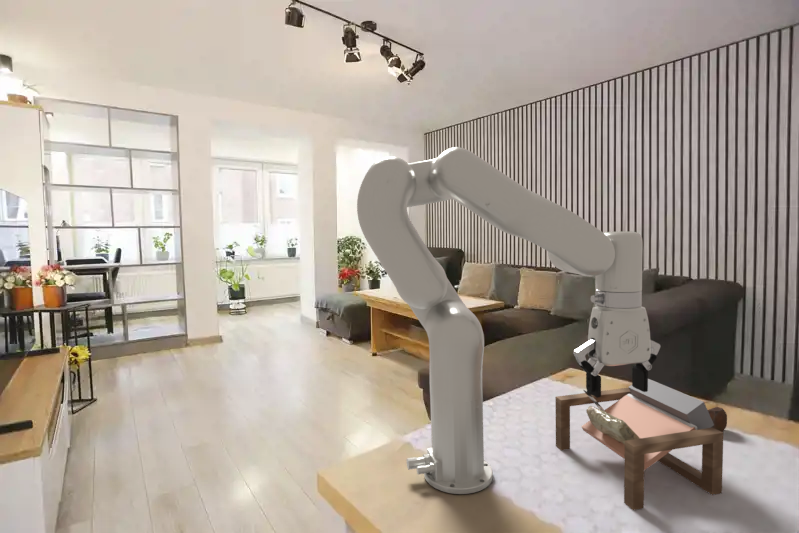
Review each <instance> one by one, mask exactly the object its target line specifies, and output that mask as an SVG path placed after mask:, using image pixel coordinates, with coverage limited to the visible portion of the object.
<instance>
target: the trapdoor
mask: <svg viewBox="0 0 799 533" xmlns="http://www.w3.org/2000/svg"><path fill="white" fill-rule="evenodd" d="M627 388H629V390H630V392H631V394H632V395H631V394H627V395H626V396H624V397H623V398H621V399H620V400H616V401H615V402H614V403H612V404H611V405H610V406H609V407H607V408H606V409H604V410H605V411H606V412H607V413H609V414H610V415H612V416H614V417H616V418H618V419H620V420H623V421H624V422H626V424H627V425H628V426H629V427H630V428H631V429H632V430H633V431H634V432H635V433H636V434H637V435H638V436H639V438H647V437H654V436H660V435H667V434H673V433H680V432H686V431H693V430H699V429H706V428H711V427H712V426H714V423H713V421H712V419H711V417H710V414H709V412H708V410H709V409H708V408H707V406H706V404H705V401H703V400H700V399H698V398H697V397H693V396H690V395H689V394H686V393H684V392H681V391H679V390H677V389H674V388H672V387H669V386H667V385H665V384H663V383H660V382H657V381H655V380H652V379H650V378H648V391H647V392H643V391H641V390H639V389H636V388H634V387H633V386H632V384H631V385H629V386H628V387H627ZM581 429H582V431H583V432H585V433H586V434H588V435H589V436H590V437H592V438H593V439H595V440H596V441H598V442H599V443H601V444H602V445H604V446H605V447H607V449H609V450H611V451H612V452H614V453H615V454H616V455H618V456H620V458H622V459H624V455H625V444H623V443H622V442H618V441H617V440H615V439H614V438H612V437H610V436H608V435H607V434H604V433H602V432H601V431H599V430H598V429H596V428H595V427H594V425H593V424H592V423H591V421H590V420H588V421H587V422H586V423H584V424H582V425H581ZM671 451H672V450H667V451H661V452H655V453H648V454H644V471H646V470H647V469H649V468H650V467H651V466H653V465H654V464H655V463H656V462H659V461H658V460H659V459H661V458H662V457H663V456H665V455H666V454H667V453H670V452H671Z"/></svg>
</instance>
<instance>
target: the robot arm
mask: <svg viewBox="0 0 799 533" xmlns="http://www.w3.org/2000/svg"><path fill="white" fill-rule="evenodd" d="M451 200H454V201H455V202H456V203H458V204H459V205H461V206H462V207H464V208H466V209H467V210H469V211H470V212H472V213H473V214H475V215H476V216H478V217H479V218H481V219H483V221H485V222H487V223H488V224H489V225H491V226H493V228H496V229H497V230H499V231H501V232H503V233H505V234H507V235H510V236H514V237H516V238H520V239H522V240H526V241H528V242H530V243H532V244H534V245H536V246H537V247H540V248H542V250H545V251H547V255H548V256H547V257H548V259H549V261H550V262H551V264H552V265H553V266H554V267H555V268H556V269H558V270H560V271H563V272H566V273H568V274H576V275H580V276H584V277H595V284H594V285H595V292H594V294H593V295H590V302H591V303H593V304H594V307H592V310H591V313H590V319H589V322H588V323H589V324H588V332H587V333H588V335H587V341H586V342H584V343H583V344H582V345H580V346H579V347H577V348H575V349H574V350H573V352H572V353H573V356H574V358H575V361H576V362H577V365H578V366H579V367H580V368H581V369H582V371H583V372H585V388H586V391H587V392H588V393H589V394H591V395H593V396H595V397H596V398H599V397H600V396H601V391H602V376H601V375H599V373H600V372H601V370H602V369H603V368H604V367H605V366H607V367H615V366H625V365H626V366H627V365H633V366H632V368H631V370H632V374H631V378H632V379H631V380H632V381H631V385H632V386H633V387H634V388H636V389H639V390H641V391H643V392H647V391H648V379H649V371H651V370H652V368H653V363H654V362H655V361H656V360H657V355H658V353H659V351H660V349H661V344H660V343H658V342H656V341H654V340H652V339H651V330H650V322H649V317H648V312H647V310H646V307H645V306H642V304H643V301H642V299H643V298H642V297H643V295H642V294H643V291H642V290H643V251H644V250H643V248H644V246H643V237H642V235H641V234H640V233H639V232H636V231H625V230H624V231H606V232H603V231H602V230H601V229H599V228H597V227H596V226H594V225H593V224H592V223H590V222H588V220H585V219H584V218H583V217H581V216H580V215H578V214H577V213H575V212H573V211H571V210H570V209H568V208H565V207H564V206H562V205H560V204H558V203H556V202H554V201H552V200H550V199H548V198H546V197H544V196H542V195H541V194H539V193H536V192H535V191H532V190H530V189H528V188H526V187H525V186H523V185H522V184H520V183H518V182H517V181H515V180H514V179H512V178H511V177H509V176H508V175H507V174H505V173H504V172H502V171H501V170H499V169H498V168H496V167H495V166H493V165H492V164H490V163H489V162H487V161H486V160H484V159H483V158H481V157H480V156H478V155H477V154H475V153H474V152H473V151H471V150H469V149H468V148H467V149H466V148H464V147H459V146H454V147H453V146H452V147H451V148H448V149H446V150H444V151H443V152H441V153H440V154H439V155H438V156H437V157H436V158H432V159H428V160H423V161H415V162H411V163H410V162H409V163H408V161H406V160H404V159H403V158H400V157H397V156H385V157H382V158H379V159H378V160H376V161H375V162H374V163H373V164H372V165H371V166H370V167H369V169H368V170H367V172H366V173H365V175H364V177H363V179H362V181H361V184H360V187H359V190H358V194H357V200H356V212H357V214H356V215H357V218H358V220H357V221H358V224H359V226H360V227H359V228H360V229H361V232H362V234H363V236H364V238H365V240H366V242H367V244H368V245H369V247H370V248H371V250H372V252H373V253H374V255H375V256H376V258H377V259H378V261H379V263H380V265H381V267H382V268H383V269H384V271H385V273H386V274H387V275H388V277H389V278H390V280H391V282H392V283H393V285H394V287H395V289H396V292H397V294H398V295H399V297H400V298H401V299H402V300H403V302H404V303H406V304H407V305H408V307H409V308H410V309H411V311H412V312H413V314H414V316H415V317H416V318H417V320H418V321H419V323H420V324H421V326H422V328H423V329H424V330H425V333H426V335H427V338H428V347H429V348H428V349H429V350H428V351H429V366H428V367H429V369H428V370H429V398H430V399H429V400H430V402H429V403H430V427H431V428H430V434H431V435H430V436H431V439H430V440H431V447H427V449H426V451H427V453H425V454H422V456H418V457H416V456H415V457H407V458H406V460H405V461H406V467H407V470H415V469H416V474H417V475H423V476H424V478H425V480H426V482H427V483H428V484H429V485H430V486H431V487H433V488H435V489H436V490H439V491H441V492H444V493H447V494H453V495H468V494H474V493H478V492H480V491H482V490H484V489H486V488H487V487H489V486H490V485H491V483H492V481H493V477H494V475H493V474H494V472H493V468H492V466H491V464H490V463H489V462H487V461H486V460H485V455H484V454H485V453H484V452H485V448H484V447H485V446H484V443H485V442H484V406H483V405H484V404H483V402H484V398H483V394H484V393H483V363H484V361H483V360H484V353H485V352H484V351H485V334H484V331H483V327H482V325H481V323H480V320H479V318H478V317H477V316H476V314H475V313H473V312H472V311H471V310H470V308H468V307H467V305H466V304H465V303H464V301H463V300H462V299H461V297H460V295H459V294H458V293H457V291H456V289H455V288H454V286H453V285H452V283H451V282H450V280H449V279H448V277H447V274H446V271H445V268H443V266H442V265H441V263H440V262H439V261H438V260H437V259H436V258H435V257H434V256H433V254H432V253H431V250H429V248H428V247H427V245H426V243H425V242H424V240H422V237H421V236H420V234H419V232H418V231H417V229H416V227H415V226H414V224H413V223H412V221H411V218H410V216H409V213H408V208H410V207H417V206H419V207H420V206H424V205H431V204H435V203H440V202H445V201H451ZM586 355H588V359H587V358H586Z"/></svg>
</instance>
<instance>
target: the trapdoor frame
mask: <svg viewBox="0 0 799 533" xmlns="http://www.w3.org/2000/svg"><path fill="white" fill-rule="evenodd" d="M627 394H631V392H630V390H629V388H628V387H622V388H616V389H615V388H614V389H607V390H601V396H600V397H599V398H596V397H595V396H593V395H592V397H593V398H594V399H595V400H596V401H597V402H598V403H599V404H600V403H605V402H613V401H614V402H616V401H618V400H620V399H621V398H623V397H624V396H626V395H627ZM631 395H632V394H631ZM589 404H595V403H594V402H593V401H592V400H591V399H590V398H589V397H588V395H587V394H586V393H585V392H582V393H574V394H566V395H559V396H558V395H557V396H555V447H556V448H558V449H559V450H560V451H567V450H571V407H575V406H583V405H589ZM697 446H701V447H702V448H701V449H702V450H701V451H702V452H701V453H702V454H701V471H700V470H698V469H697V468H695V467H694V466H691V465H690V464H688V463H686V462H685V461H683V460H682V459H680V458H679V457H677V456H675V455H673V454H671V453H670V452H669V453H667V454H666V455H665V456H663V457H662V458H661V459H659V460H658V461H657V462H659V463H661V464H662V465H664V466H665V467H667V468H668V469H670V470H671V471H673V472H675V473H677V474H678V475H679V476H681V477H683V478H684V479H686V480H688V482H691V483H692V482H693V483H692V484H694V485H695V486H696V487H698V488H700V489H702V490H704V491H705V492H706V491H707V493H708V492H709V493H710V494H709V493H708V494H709V495H711V494H712V495H711V496H714V495H713V494H715V495H719V494H720V493H721V494H723V470H724V469H723V463H724V459H723V458H724V431H723V432H721V431H719V430H717V429H715V428H713V427H712V428H706V429H699V430H693V431H686V432H680V433H673V434H667V435H660V436H654V437H647V438H640V439H634V440H627V441H625V455H624V458H623V460H624V464H623V466H624V470H623V471H624V472H623V473H624V474H623V475H624V476H623V478H624V479H623V482H624V485H623V490H624V491H623V494H624V495H623V503H624V504H625V505H626V506H627V507H628V508H629V509H631V510H632V511H637V510H642V509H644V508H645V470H644V454H648V453H655V452H661V451H667V450H671V451H673V450H679V449H684V448H690V447H697Z"/></svg>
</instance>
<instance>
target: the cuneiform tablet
mask: <svg viewBox="0 0 799 533" xmlns="http://www.w3.org/2000/svg"><path fill="white" fill-rule="evenodd" d="M582 390H583V393H586V394H587V395H588V397H589V398H590V399H591V400H592V401H593V402H594V403H593V404H595V406H596V407H595V406H592V405H589V406H588V407H587V409H586V410H585V411H586V414H587V416H588V419H589V421H591V423H592V424H593V425H594V427H595V428H596V429H598V430H599V431H601V432H602V433H604V434H607V435H608V436H610V437H612V438H614V439H615V440H617V441H618V442H622V443H623V444H625V441H627V440H634V439H640V438H639V436H638V435H637V434H636V433H635V432H634V431H633V430H632V429H631V428H630V427H629V426H628V425H627V424H626V422H624V421H623V420H620V419H618V418H616V417H614V416H612V415H610V414H609V413H607V412H606V411H605V409H604V408H603V407H602V405H601V404H600V402H599V403H598V402H597V401H596V400H595V399H594V398H593V397H592V395H591V394H589V393H588V392H587V390H585V389H582Z"/></svg>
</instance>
